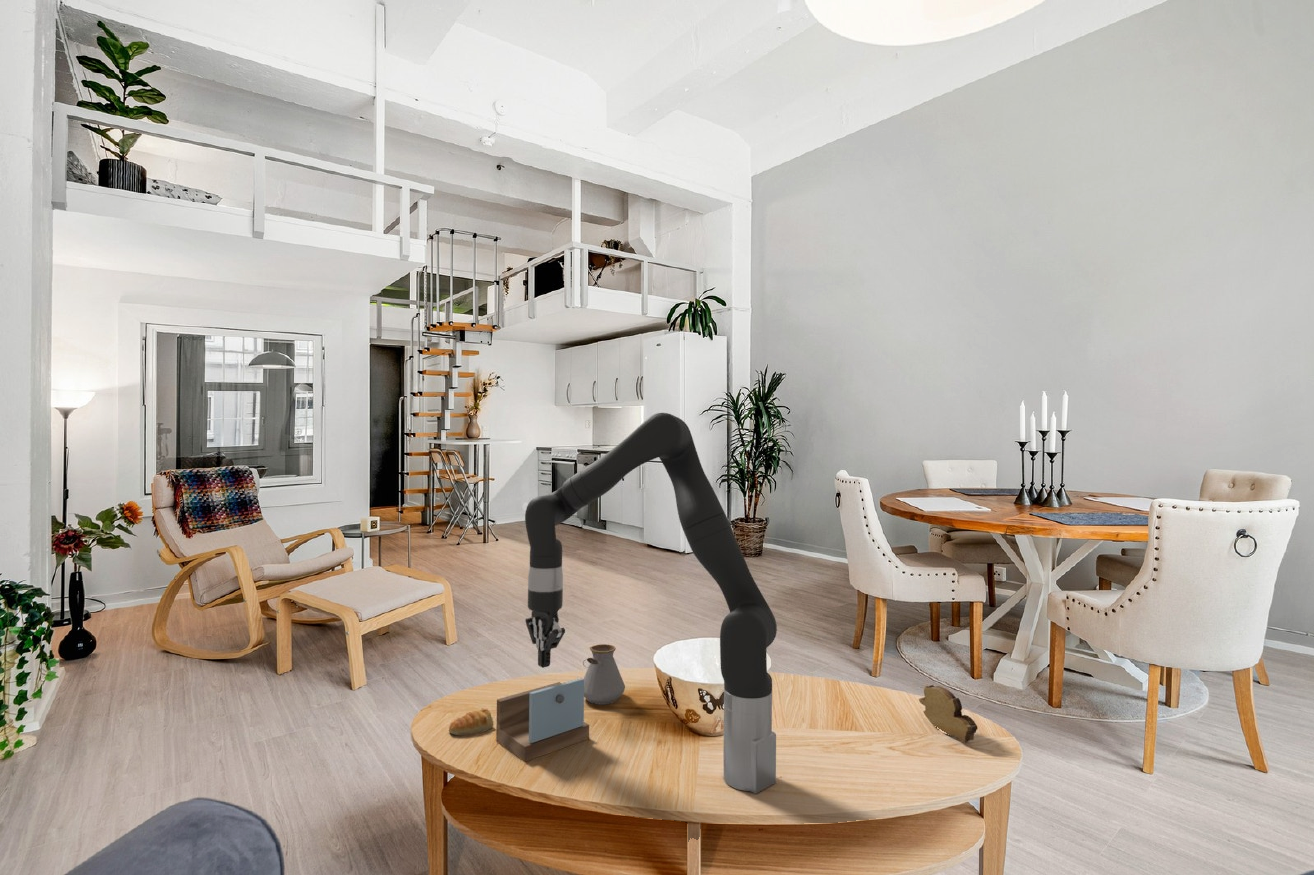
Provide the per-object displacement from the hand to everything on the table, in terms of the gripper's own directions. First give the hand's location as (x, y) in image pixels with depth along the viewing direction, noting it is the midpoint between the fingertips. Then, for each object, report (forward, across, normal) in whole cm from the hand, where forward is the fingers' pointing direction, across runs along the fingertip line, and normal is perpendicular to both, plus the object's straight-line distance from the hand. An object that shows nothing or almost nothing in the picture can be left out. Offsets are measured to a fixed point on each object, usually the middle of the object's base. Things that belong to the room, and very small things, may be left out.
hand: (543, 666), depth 140 cm
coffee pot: (+16, +7, -20) cm, 27 cm away
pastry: (+17, +15, +9) cm, 24 cm away
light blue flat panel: (+13, -6, 0) cm, 14 cm away
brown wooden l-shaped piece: (+16, 0, 0) cm, 16 cm away
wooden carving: (+16, -56, -72) cm, 92 cm away
